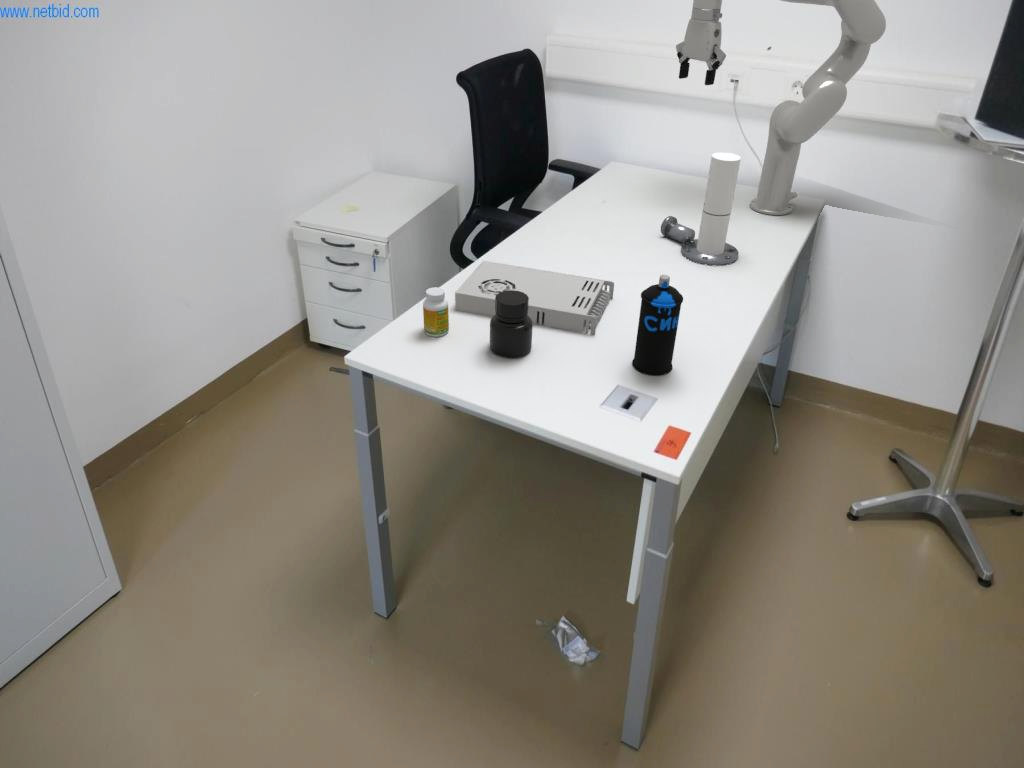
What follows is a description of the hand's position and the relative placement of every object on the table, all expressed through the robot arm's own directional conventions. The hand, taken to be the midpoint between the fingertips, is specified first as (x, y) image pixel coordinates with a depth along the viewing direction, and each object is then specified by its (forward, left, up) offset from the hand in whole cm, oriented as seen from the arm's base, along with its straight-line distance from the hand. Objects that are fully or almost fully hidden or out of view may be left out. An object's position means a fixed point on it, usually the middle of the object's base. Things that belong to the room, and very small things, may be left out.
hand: (695, 81), depth 222 cm
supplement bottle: (+104, +26, -36) cm, 113 cm away
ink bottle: (+95, +41, -36) cm, 110 cm away
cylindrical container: (+21, +31, -35) cm, 51 cm away
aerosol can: (+75, +63, -36) cm, 105 cm away
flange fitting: (+21, +27, -36) cm, 50 cm away
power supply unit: (+78, +28, -37) cm, 91 cm away
